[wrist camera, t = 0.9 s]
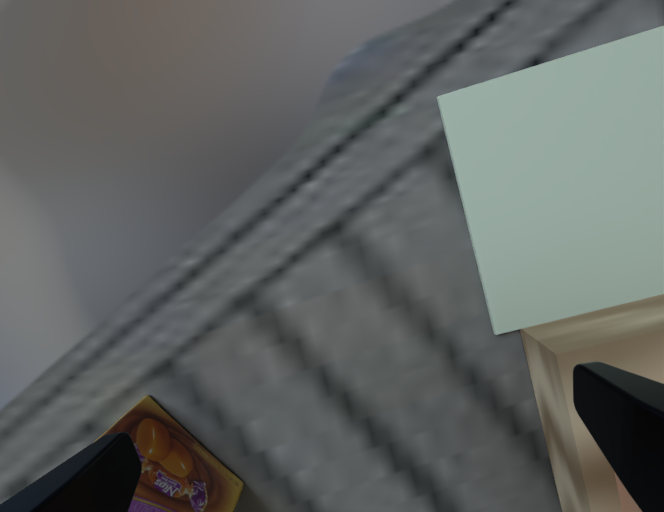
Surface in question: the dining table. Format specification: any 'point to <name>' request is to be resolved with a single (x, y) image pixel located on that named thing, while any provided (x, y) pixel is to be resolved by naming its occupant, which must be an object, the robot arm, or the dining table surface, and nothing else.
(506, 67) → the dining table surface
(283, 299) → the dining table surface
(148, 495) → the candy box
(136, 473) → the robot arm
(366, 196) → the dining table surface
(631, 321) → the tan flat block
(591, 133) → the mat
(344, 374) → the dining table surface
